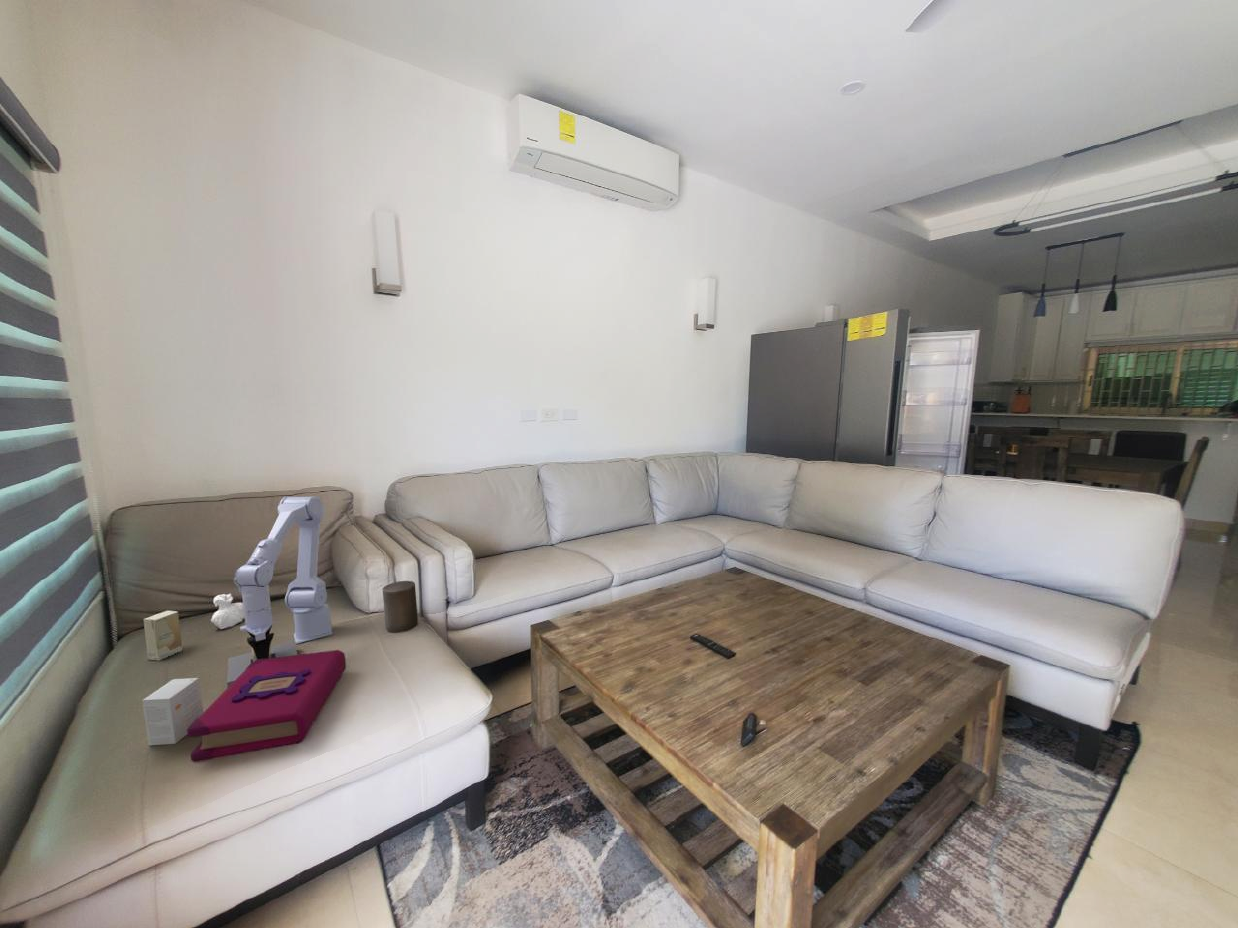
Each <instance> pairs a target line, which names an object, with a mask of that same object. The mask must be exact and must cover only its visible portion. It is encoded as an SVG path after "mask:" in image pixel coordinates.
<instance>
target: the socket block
mask: <svg viewBox="0 0 1238 928" xmlns="http://www.w3.org/2000/svg"><path fill="white" fill-rule="evenodd" d="M270 648H271V657H272V658H277V657H286V656H294V655H298V651H297V647H296V642H295V640H293V641H288V642H286V643H282V644H278V645H274V646H270ZM252 662H253V656H252V651H250V652H248V653H243V654H240V655H236V656H232V657H229V658H227V674H226V675H227V677H226V679H227V680H226V684H227V688H228V687H229V686H230V685H231V684H232V683H233V682H234V681H235V680H236V679H237V678H238V677H239V676H240V675H241V674H242V673H243V672H244V671H245V670H246V668H247V667H248V666H249V665H250V664H251V663H252Z"/></svg>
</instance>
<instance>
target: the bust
mask: <svg viewBox="0 0 1238 928" xmlns="http://www.w3.org/2000/svg"><path fill="white" fill-rule="evenodd" d="M233 600H234V597H233V595H232V593H229V594H225V593H223V594H218V595H216V596H215V597H214V598H213V601H212V602H213V604H214V606H215V607H218V609H217V611H215V612H214V613H213V614H212V617H211V619H210V622H212V624H214V625H215V626H216V627H218V628H219V630H223V629H227V628H231V627H232V628H233V626H235V625H237V624H239V623H241V622H243V620H245V616H244V608H243V602H235V603H234V602H233ZM232 602H233V603H232Z"/></svg>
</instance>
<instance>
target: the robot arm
mask: <svg viewBox="0 0 1238 928" xmlns="http://www.w3.org/2000/svg"><path fill="white" fill-rule="evenodd" d="M323 512H324V503H323V501H322V500H321V499H320V497H318V496H317V495H316V496H315V495H314V496H313V495H312V496H284V497H283V498H281V500H280V502H279V503H278V506H277V513H278V516H277V518H276V520H275V522H274V524H273V526H272V528H271V530H270V532H269V533H268V536H267V538H266V539H263V540H260V542H258V544H257V545H256V548H255V549H254V550H253V552H252V554H251V555H250V557H249V559H248V560H247V561H246V564H243V565H242V566H240V567H239V568H238V569H237V570H236V571H235V573H234V578H233V582H234V584H235V586H237V588H238V592H239V593H240V594H241V597H242V603H243V608H244V616H245V618H244V623H245V625H242V626H240V627H239V629H240V632H244V631H245V632H247V634H249V636H250V637H247V638H246V643H247V644H248V645H250V647H252V648H253V650H254V652H255V655H256V658H257V660H258V659H265V658H268V657H269V649H270V647H271V644H272V642H273V639H274V636H275V632H271V629H272V627H273V624H274V620H273V615H272V607H271V597H270V587H269V584H270V582H271V581H272V580H273V576H274V570H275V564H276V562H277V560H278V558H279V556H280V554H281V553H282V551H283V546H282V542H283V541H284V540H285V538H286V536H287V535H288V534H289V532H290V531H291V529H292V528H293V527H294V525H295V524H296V525H297V526H298V527H299V537H298V550H297V551H298V553H297V567H296V568H297V569H296V578H295V579H294V580H293V581H291V582H290V583H289V584H288V586H287V591H286V594H285V597H284V603H285V606H286V607H287V608H288V609H290V612H291V613H293V620H294V621H293V622H294V630H295V632H294V633H293V638H294V643H295V645H297V644H298V645H299V644H302V643H305V642H309V641H312V640H317V639H319V638H324V637H327V636H330V635H333V632H332V631H333V630H332V625H333V624H332V621H331V614H330V613H331V611H330V606H329V604H328V603H326V602H327V599H328V593H327V588H326V581H324V580H323V579H321V578H319V577H318V565H319V563H318V561H319V560H318V559H319V544H320V532H321V531H320V529H321V527H320V526H321V523H322V522H323V515H324V513H323ZM252 648H251V649H252Z"/></svg>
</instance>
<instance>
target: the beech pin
mask: <svg viewBox="0 0 1238 928" xmlns="http://www.w3.org/2000/svg"><path fill="white" fill-rule="evenodd" d="M250 647H251V646H250ZM251 652H252V656H253V661H255V660H257V658H256V655H255V652H254V650H253V648H252V647H251ZM268 658H272V657H271V648H270V649H269V657H268Z"/></svg>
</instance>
